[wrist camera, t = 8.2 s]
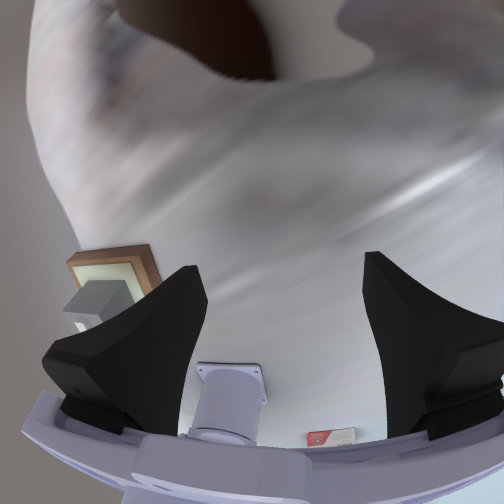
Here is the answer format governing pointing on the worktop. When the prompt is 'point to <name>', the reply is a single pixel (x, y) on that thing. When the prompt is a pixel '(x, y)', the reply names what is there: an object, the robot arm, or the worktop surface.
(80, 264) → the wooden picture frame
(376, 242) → the worktop surface
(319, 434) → the ink cartridge box
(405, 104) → the worktop surface
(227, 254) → the worktop surface
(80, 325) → the grey box
